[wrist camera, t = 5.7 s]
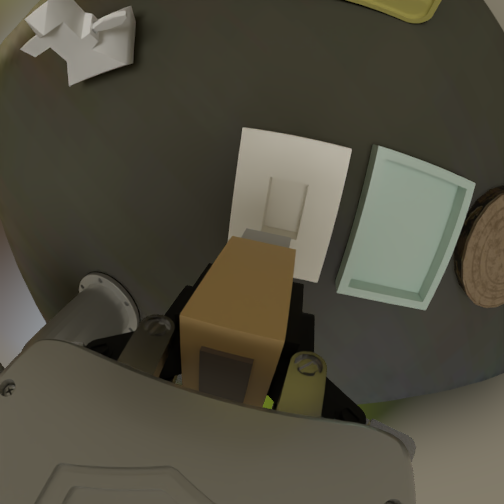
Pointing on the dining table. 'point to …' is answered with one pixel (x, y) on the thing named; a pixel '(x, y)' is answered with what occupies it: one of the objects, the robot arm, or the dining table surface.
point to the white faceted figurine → (82, 38)
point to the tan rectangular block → (239, 319)
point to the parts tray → (403, 230)
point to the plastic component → (404, 8)
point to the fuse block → (289, 192)
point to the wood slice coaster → (482, 250)
